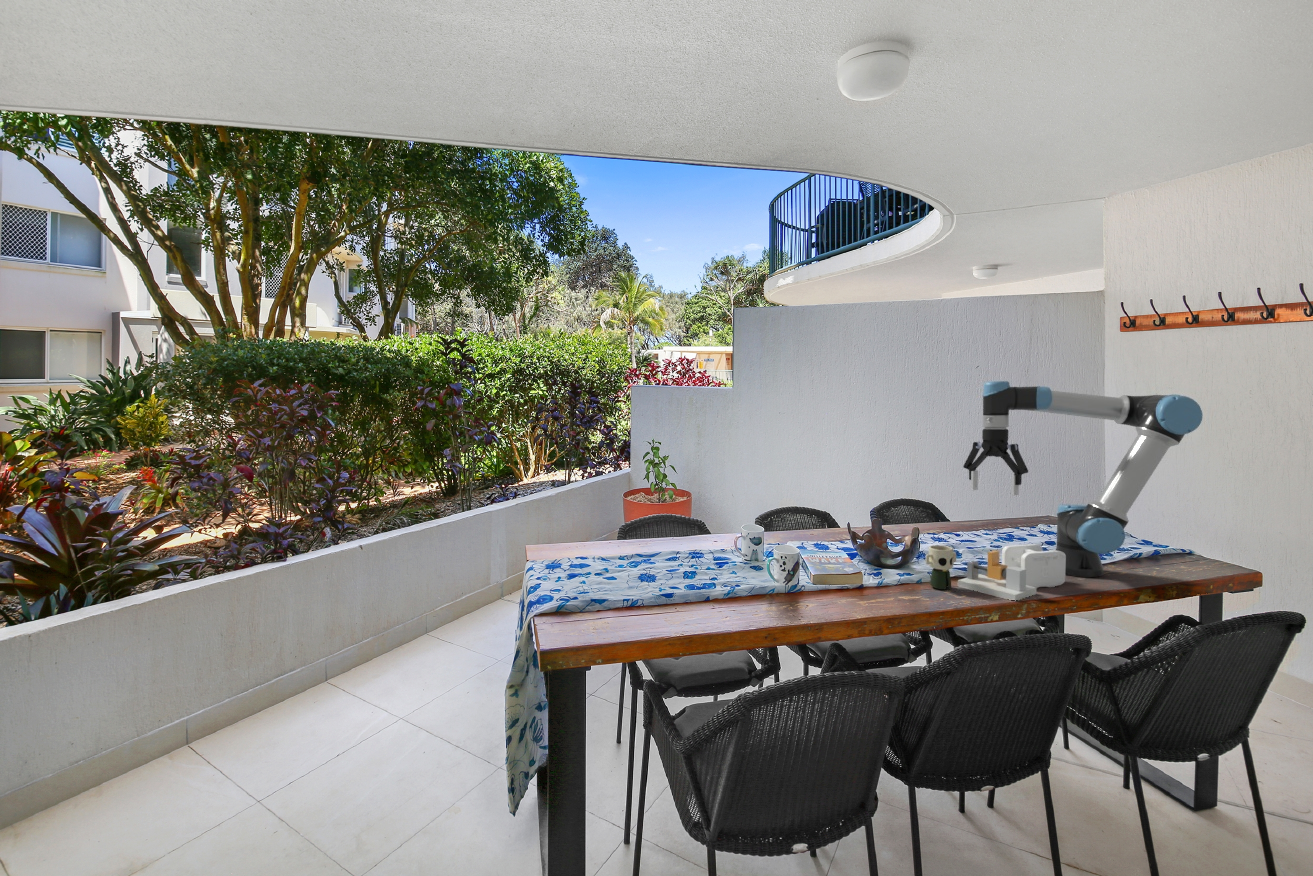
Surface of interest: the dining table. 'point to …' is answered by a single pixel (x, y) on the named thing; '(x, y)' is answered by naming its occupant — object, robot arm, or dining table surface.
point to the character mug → (940, 565)
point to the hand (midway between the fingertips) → (994, 492)
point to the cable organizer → (1037, 564)
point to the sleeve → (995, 566)
